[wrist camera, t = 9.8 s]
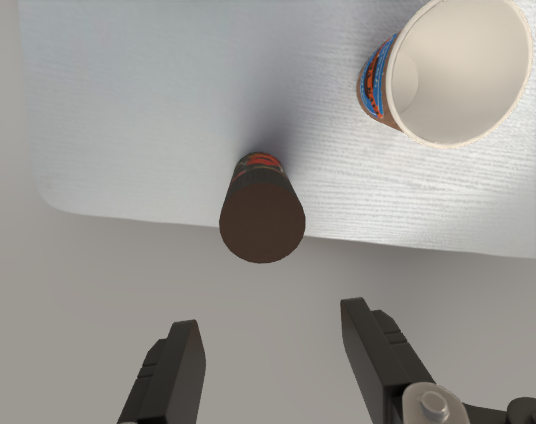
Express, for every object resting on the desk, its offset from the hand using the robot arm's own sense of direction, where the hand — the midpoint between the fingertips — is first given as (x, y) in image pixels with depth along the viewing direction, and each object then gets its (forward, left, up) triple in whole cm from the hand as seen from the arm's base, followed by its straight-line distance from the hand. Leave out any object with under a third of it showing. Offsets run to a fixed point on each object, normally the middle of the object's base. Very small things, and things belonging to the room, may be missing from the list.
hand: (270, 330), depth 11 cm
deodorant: (0, 0, -26) cm, 26 cm away
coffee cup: (+15, +8, -26) cm, 31 cm away
